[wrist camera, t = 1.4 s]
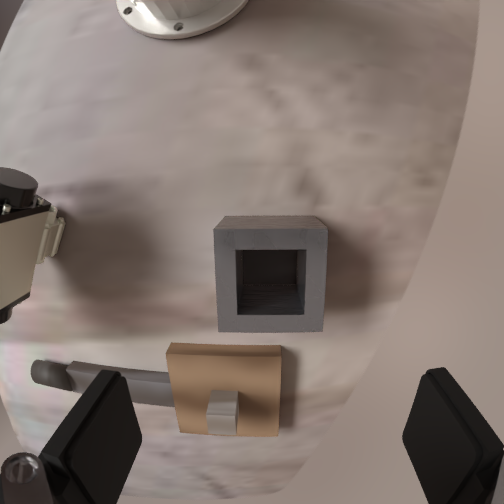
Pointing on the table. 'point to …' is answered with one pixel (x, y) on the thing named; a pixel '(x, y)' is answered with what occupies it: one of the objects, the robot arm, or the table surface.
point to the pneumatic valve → (23, 236)
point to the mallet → (196, 386)
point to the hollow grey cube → (270, 296)
